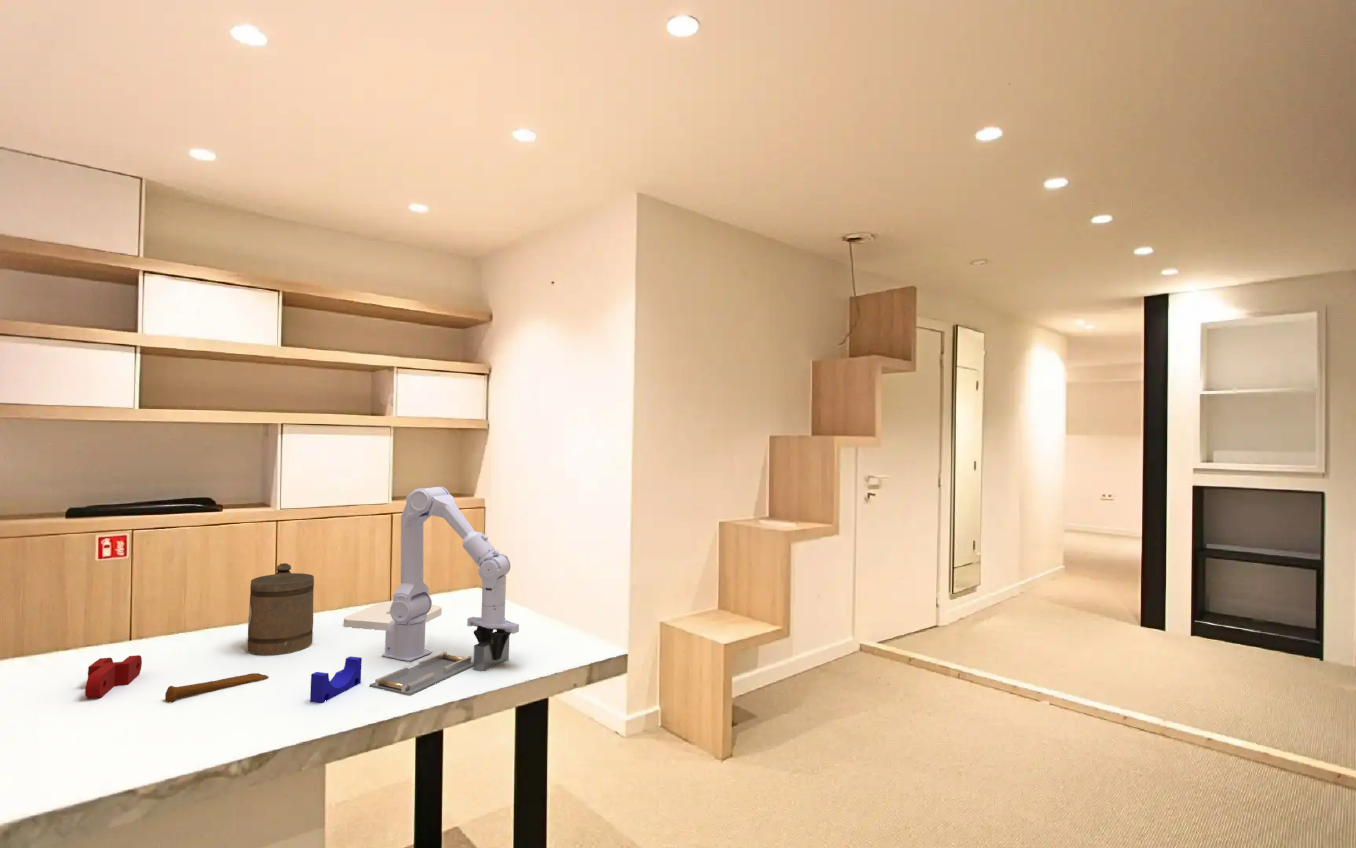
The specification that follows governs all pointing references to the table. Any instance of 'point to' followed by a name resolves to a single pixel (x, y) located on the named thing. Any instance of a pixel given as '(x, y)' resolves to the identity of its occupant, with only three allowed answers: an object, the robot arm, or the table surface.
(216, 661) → the table surface
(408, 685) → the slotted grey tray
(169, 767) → the table surface
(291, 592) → the wooden container
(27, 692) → the table surface
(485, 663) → the dark gray rectangular chunk
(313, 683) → the blue cradle bracket
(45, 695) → the table surface
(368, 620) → the tapered beige board
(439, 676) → the grey slide base plate
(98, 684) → the mechanical linkage
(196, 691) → the primitive tool
